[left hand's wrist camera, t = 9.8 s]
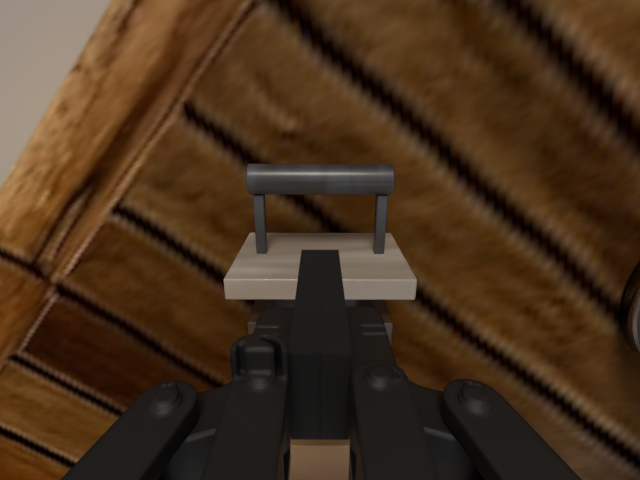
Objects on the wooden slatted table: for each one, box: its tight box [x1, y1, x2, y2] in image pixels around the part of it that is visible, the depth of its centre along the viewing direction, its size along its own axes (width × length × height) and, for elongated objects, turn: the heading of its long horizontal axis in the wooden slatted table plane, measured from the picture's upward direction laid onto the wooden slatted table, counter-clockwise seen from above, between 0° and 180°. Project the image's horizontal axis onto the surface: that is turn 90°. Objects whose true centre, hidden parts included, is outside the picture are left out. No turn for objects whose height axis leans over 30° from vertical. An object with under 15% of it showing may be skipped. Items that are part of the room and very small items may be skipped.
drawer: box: [224, 164, 417, 344], centre depth 24 cm, size 24×10×7 cm, turn 0°
